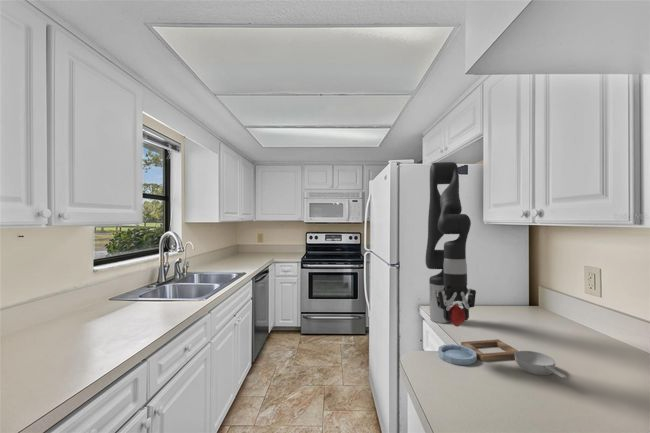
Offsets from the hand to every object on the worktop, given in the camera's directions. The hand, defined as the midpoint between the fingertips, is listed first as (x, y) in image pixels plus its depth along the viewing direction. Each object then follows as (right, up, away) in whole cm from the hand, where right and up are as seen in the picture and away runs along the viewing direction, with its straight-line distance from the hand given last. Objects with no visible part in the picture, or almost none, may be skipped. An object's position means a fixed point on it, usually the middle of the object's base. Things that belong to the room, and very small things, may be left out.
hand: (456, 319), depth 107 cm
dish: (0, -13, 0) cm, 13 cm away
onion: (0, -2, 0) cm, 2 cm away
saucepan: (+21, -13, -13) cm, 28 cm away
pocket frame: (+14, -13, +4) cm, 19 cm away
